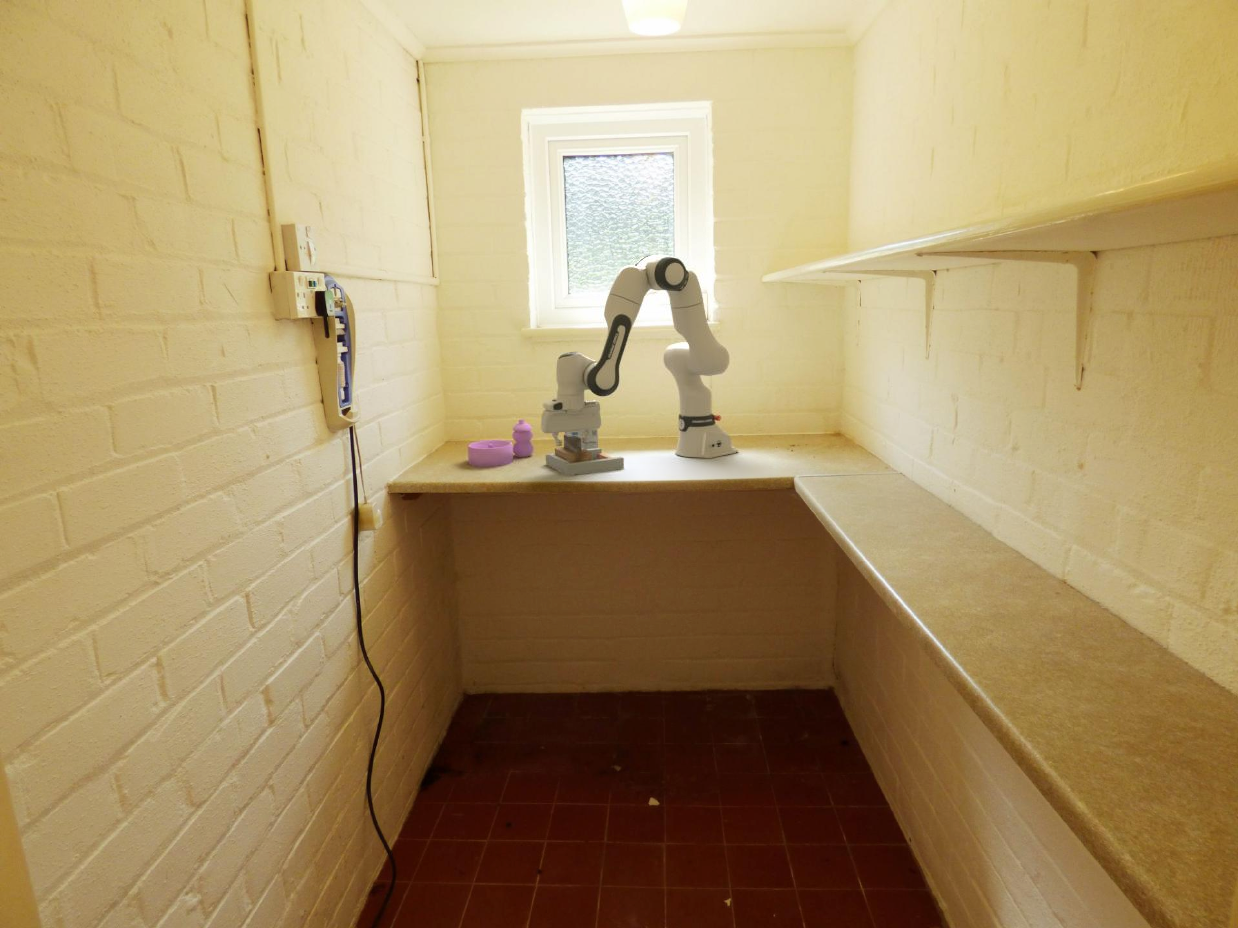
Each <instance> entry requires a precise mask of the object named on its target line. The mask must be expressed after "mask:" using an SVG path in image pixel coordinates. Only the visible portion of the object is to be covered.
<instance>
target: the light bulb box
mask: <svg viewBox="0 0 1238 928" xmlns="http://www.w3.org/2000/svg"><path fill="white" fill-rule="evenodd" d="M598 433H599V432H598V428H597V429H591V434H590V436H589V438H588V443H583V442H582V437H585V434H586V432H585V430H578V431H568V432H564V435H565V434H572V435H574V436H577V437H579V438H581V447H582V448H584V449H594V448H599V434H598Z"/></svg>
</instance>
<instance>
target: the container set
mask: <svg viewBox="0 0 1238 928" xmlns="http://www.w3.org/2000/svg"><path fill="white" fill-rule="evenodd" d="M532 429H533V428H532V425H530V424H529V423H526V420H525V419H522V418H521V419H518V423H515V424H514V425H513V427H512V430H513V432H512V439H513V441H515V443H514V444H513V442H512V441H510V440H504V439H491V440H490V439H488V440H486V439H485V440H480V441H479V440H478V441H474V442H470V443H469V444H467V456H468V465H469V464H470V466H471V465H473V466H472V467H475V468H476V467H478V468H492V467H493V468H494V467H502V465H503V466H506V465H510V464H512V463H513V462H514V455H515V456H516V457H517V458H529V457H531V456H532V455H533V453H534V449H535V448H534V445H533V443H532V442H531V440H532V438H533V436H534V434H533V431H531V430H532ZM528 456H529V457H528Z"/></svg>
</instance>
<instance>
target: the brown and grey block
mask: <svg viewBox="0 0 1238 928" xmlns="http://www.w3.org/2000/svg"><path fill="white" fill-rule="evenodd" d="M554 453H555V455H556V456H558V457H560V458H562V459H564V460H566V461H568V462H569V463H577V462H584V461H592V460H591V451H589V450H586V449H584V448H582V447H581V438H579V437H577V436H574V435H572V434H565V433H564V434H563V446H558V447H554Z"/></svg>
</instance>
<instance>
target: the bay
mask: <svg viewBox="0 0 1238 928" xmlns="http://www.w3.org/2000/svg"><path fill="white" fill-rule="evenodd" d="M586 450H589V451H591V460H592V461H584V462H577V463H569V462H568V461H566V460H564V459H562V458H560V457H558V456H556V455H555V452H554V453H546V454H545V464H546V465H547V466H549V468H552V469H553V470H556V471H557V472H559V471H560V472H559V473H561V472H562V473H561V474H563V475H565V474H566V475H565V476H566V477H570V475H571V476H576V475H575V474H579V475H586V474H590V473H591V472H593V473H599V472H605V471H612V470H613V471H614V470H621V469H624V468H625V466H624V465H625V462H624V461H625V458H624V457H622V456H618V457H617V456H616V457H612V456H610V455H607V454H606V453H603V452H602V448H601V447H598V448H594V449H586ZM591 474H592V473H591Z"/></svg>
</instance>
